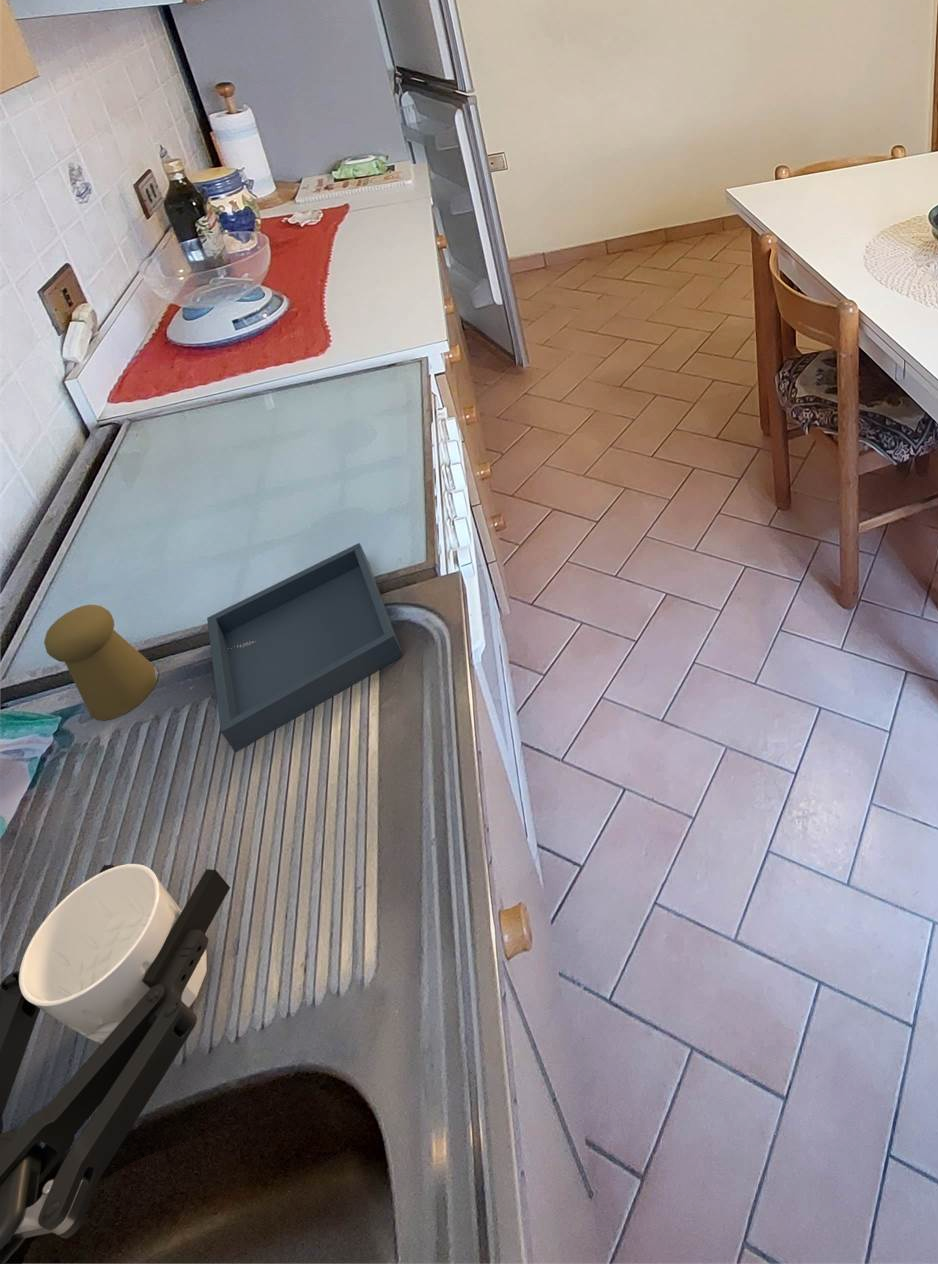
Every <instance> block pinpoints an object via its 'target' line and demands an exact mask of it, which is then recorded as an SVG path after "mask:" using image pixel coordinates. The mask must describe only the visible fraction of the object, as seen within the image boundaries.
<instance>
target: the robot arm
mask: <svg viewBox="0 0 938 1264" xmlns="http://www.w3.org/2000/svg"><path fill="white" fill-rule="evenodd" d="M113 867H116V866H115V865H114V864H104V865H103V866H102V868H101V869H100V870H99V872H98V873H97V875H98V874H99V873H101V872H104V871H106V870H108V869H111V868H113ZM230 890H231V886H230V885H229V884H228V883H227V882H226V880H225V879H224V878H223V877H222V875H221V874H220V873H219V872H218V871H217V870H216V869H207V868H206V869H205V870H204V872H203V874H202V876H201V877H200V879H199V881H198V883H197V884H196V887H195V888H194V889H193V892H192V893H191V894H190V897H189V899H188V900H187V902H186V904H185V905H184V907H183V909H182V912H181V914H180V916H179V917H178V919H177V921H176V923H175V924H174V926H173V928H172V930H171V931H170V933H169V935H168V936H167V938H166V940H165V942H164V944H163V946H162V948H161V950H160V952H159V953H158V955H157V957H156V958H155V960H154V961H153V963H152V964H151V966H150V968H149V969H148V971H147V973H146V975H145V976H144V978H143V980H142V981H143V982H144V983H145V984H146V985H147V986H148V987H149V988H150V990H149V991H148V992H147V993H146V994H145V995H144V996H143V997H142V999H141V1000H140V1001H139V1002H138V1003H137V1004H136V1005H135V1006H134V1008H133V1009H132V1010H131V1011H130V1012H129V1013H128V1014H127V1016H126V1017H125V1018H124V1019H123V1020H122V1021H121V1022H120V1024H119V1025H118V1026H117V1027H116V1028H115V1029H114V1030H113V1032H112V1033H111V1034H110V1035H109V1036H108V1037H107V1038H106V1040H105V1041H104V1042H103V1043H102V1044H99V1046H98V1047H97V1048H96V1050H94V1052H93V1053H92V1054H91V1055H90V1057H88V1059H86V1060H85V1062H84V1064H83V1065H81V1067H80V1068H79V1069H78V1070H77V1071H76V1072H75V1073H74V1075H73V1076H72V1077H71V1078H70V1080H68V1082H66V1083H65V1085H64V1086H63V1087H62V1088H61V1090H60V1091H59V1092H58V1093H57V1094H56V1095H55V1096H54V1097H53V1099H52V1100H51V1101H50V1102H49V1103H48V1104H47V1105H46V1106H45V1107H44V1108H43V1109H41V1110H38V1111H36V1112H35V1113H33V1114H32V1115H31V1116H30V1117H29V1118H28V1119H27V1120H26V1121H25V1122H24V1124H23V1125H22V1126H21V1127H20V1128H19V1130H15V1129H12V1130H8V1131H4V1132H3V1129H4V1122H3V1117H4V1116H3V1115H4V1112H5V1110H6V1107H7V1104H8V1101H9V1099H10V1095H11V1093H12V1091H13V1087H14V1084H15V1081H16V1079H17V1077H18V1073H19V1070H20V1067H21V1064H22V1062H23V1059H24V1056H25V1054H26V1051H27V1048H28V1045H29V1042H30V1039H31V1036H32V1034H33V1032H34V1028H35V1026H36V1022H37V1020H38V1017H39V1014H40V1011H41V1009H40V1008H38V1007H37V1006H35V1005H33V1004H32V1003H30V1002H29V1001H27V1000H26V999H25V997H24V996H23V995H22V993H21V990H20V986H19V972H20V971H18V970H16V971H12V972H11V973H9V974H8V975H7V976H5V977H4V979H3V980H2V981H1V983H0V1264H6V1263H7V1261H8V1260H9V1259H10V1258H11V1256H12V1255H14V1254H15V1252H17V1250H18V1249H19V1248H20V1247H21V1245H22V1244H23V1243H24V1242H25V1240H26V1239H27V1238H32V1237H37V1236H42V1235H47V1234H52V1233H53V1234H54V1235H56V1236H58V1237H60V1238H62V1239H68V1238H70V1237H73V1236H74V1234H75V1233H76V1232H78V1230H79V1229H80V1227H81V1226H82V1224H83V1223H84V1220H85V1218H86V1215H87V1212H88V1210H89V1207H90V1205H91V1202H92V1200H93V1198H94V1196H95V1193H96V1190H97V1187H98V1185H99V1182H100V1181H101V1178H102V1177H103V1175H104V1173H105V1171H106V1169H107V1168H108V1167H109V1165H110V1164H111V1162H112V1160H113V1158H114V1157H115V1155H116V1153H118V1150H119V1149H120V1147H121V1146H122V1144H123V1142H124V1141H125V1139H126V1138H127V1136H128V1134H129V1133H130V1132H131V1129H132V1128H133V1126H134V1125H135V1123H136V1121H137V1120H138V1118H139V1117H140V1115H141V1113H142V1112H143V1110H144V1108H145V1107H146V1105H147V1104H148V1102H149V1101H150V1099H151V1097H152V1096H153V1094H154V1092H155V1091H156V1089H157V1088H158V1086H159V1084H160V1083H161V1081H162V1080H163V1078H164V1077H165V1075H166V1074H167V1072H168V1071H169V1068H170V1067H171V1065H172V1064H173V1062H174V1061H175V1059H176V1058H177V1056H178V1054H179V1053H180V1052H181V1050H182V1048H183V1046H184V1044H185V1043H186V1041H187V1039H188V1038H189V1036H190V1035H191V1033H192V1031H193V1030H194V1028H195V1027H196V1025H197V1023H198V1022H197V1021H198V1016H197V1014H196V1013H195V1012H194V1011H193V1010H192V1009H191V1008H190V1007H188V1006H186V1005H185V1004H184V1003H183V1002H182V1000H181V999H182V993H183V991H184V989H185V987H186V985H187V983H188V981H189V980H190V978H191V976H192V974H193V972H194V970H195V968H196V967H197V964H198V963H199V961H200V959H201V957H202V955H203V953H204V952H205V950H206V951H207V948H208V943H209V937H208V936H207V935H206V934H207V931H208V929H209V927H210V926H211V924H212V922H213V920H214V919H215V916H216V914H217V913H218V911H219V910H220V907H221V905H223V902H224V901H225V898H226V896H227V894H228V893H229V891H230ZM90 1117H91V1118H90ZM89 1118H90V1119H89ZM87 1120H88V1122H87ZM86 1122H87V1123H86ZM85 1123H86V1125H85ZM83 1125H85V1127H84V1128H83V1130H82V1131H81V1133H80V1134H79V1136H78V1137H77V1138H76V1140H75V1136H76V1134H77V1133H78V1131H80V1129H81V1128H82V1127H83ZM74 1141H75V1142H74ZM41 1143H44V1146H43V1147H42V1145H41ZM67 1152H68V1153H67ZM65 1155H66V1157H65V1158H64V1160H63V1162H62V1163H61V1165H60V1167H59V1169H58V1171H57V1174H56V1175H55V1177H54V1178H51V1179H49V1180H47V1182H45V1184H44V1185H43V1187H42V1189H41V1196H40V1197H39V1198H38V1196H39V1187H40V1185H41V1184H42V1182H43V1181H44V1180H45V1179H46V1177H47V1176H48V1175H49V1174H50V1172H51V1171H52V1170H53V1169H54V1168H55V1166H56V1165H57V1164H58V1163H59V1162H60V1160H61V1159H62V1158H63V1157H64V1156H65Z"/></svg>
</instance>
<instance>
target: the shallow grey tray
mask: <svg viewBox="0 0 938 1264" xmlns="http://www.w3.org/2000/svg"><path fill="white" fill-rule="evenodd" d="M381 594H382V593H381V591H380V588H379V585H378V583H377V581H376V579H375V575H374V572H373V570H372V567H371V564H370V562H369V559H368V557H367V555H366V553H365V551H364V549H363V547H362V545H361V543H360V542H358V543H356V544H354V545H352V546H350V547H348V548H346V549H343V550H342V551H340V552H337V553H336V554H334V555H332V556H329V557H327V558H325V559H324V560H322V561H320V562H318V563H315V564H313V565H312V566H309V567H307V568H305V569H303V570H301V571H299V572H297V573H295V574H293V575H291V576H289V577H287V578H285V579H283V580H280V581H279V582H277V583H275V584H273V585H271V586H269V587H267V588H265V589H262V590H260V591H259V592H257V593H255V594H253V595H251V596H248V597H246V598H245V599H242V600H240V601H237V602H235V604H232V605H230V606H228V607H226V608H224V609H222V610H221V611H218V612H215V613H214V614H212V615H210V616H208V617H207V619H206V621H207V629H208V637H209V638H208V639H209V645H210V653H211V654H210V655H211V661H212V671H213V677H214V686H215V695H216V704H217V711H218V720H219V727H220V733H221V734H222V735H223V737H224V738H225V740H226V741H227V743H228V744H229V746H230V747H231V748H232V750H233V752H234V753H236V752H238V751H240V750H242V749H244V748H246V747H247V746H248V744H249V745H251V744H253V743H254V742H256V741H257V740H259V739H261V738H263V737H264V736H266V735H269V734H270V733H272V732H273V731H275V730H277V729H279V728H280V727H282V726H284V725H285V724H288V723H289V722H290V721H293V720H294V719H296V718H298V717H300V716H301V715H303V714H305V713H307V712H308V711H310V710H311V709H312V710H313V708H315V707H317V706H318V705H320V704H322V703H324V702H325V701H328V700H329V699H331V698H332V697H335V696H336V695H338V694H340V693H342V692H343V691H345V690H347V689H349V688H350V687H353V685H355V684H357V683H359V682H361V681H362V680H364V679H366V678H367V677H370V676H371V675H373V674H374V673H376V672H378V671H380V670H381V669H384V668H385V667H387V666H389V665H390V664H392V663H394V662H395V661H397V660H399V659H401V658H402V657H404V653H403V650H402V647H401V645H400V643H399V640H398V637H397V634H396V631H395V629H394V626H393V624H392V621H391V618H390V616H389V613H388V610H387V608H385V607H386V605H385V603H384V602H385V601H384V599H383V597H382V595H381ZM249 641H251V642H252V641H254V644H253V645H252V643H251V645H250V646H249V645H248V646H247V648H246V646H245V648H243V647H241V648H240V647H239V646H240V644H241V645H242V646H243V643H246V642H248V643H249ZM255 641H256V644H255ZM237 645H239V646H238V648H237ZM234 646H235V647H234ZM228 648H229V649H228ZM231 648H232V649H231ZM241 748H242V749H241ZM239 749H240V750H239ZM237 750H238V751H237Z"/></svg>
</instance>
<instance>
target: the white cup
mask: <svg viewBox="0 0 938 1264" xmlns="http://www.w3.org/2000/svg"><path fill="white" fill-rule="evenodd" d="M98 873H99V872H98ZM98 873H97V874H95V875H93V876H92V877H91V878H89V879H87V880H86V881H84V882H83V883H81V884H80V885H79V886H78V887H76V888H75V889H74V890H72V891H71V892H70V893H69V894H68V895H67V896H66V897H64V898H63V899H62V900H61V901H60V902H59V903H58V904H57V905H56V906H55V907H54V909H53V910H52V911H51V912H50V913H49V914H48V915H47V916H46V918H45V919H44V920H43V922H42V923H41V924H40V926H39V927H38V929H37V930H36V931H35V933H34V935H33V936H32V938H31V940H30V942H29V943H28V945H27V948H26V950H25V952H24V954H23V957H22V960H21V963H20V968H19V971H18V972H19V986H20V990H21V993H22V995H23V996H24V997H25V999H26V1000H27V1001H29V1002H30V1003H32V1004H33V1005H35V1006H37V1007H38V1008H40V1011H41V1010H42V1011H43V1012H45V1013H46V1014H47V1015H48V1016H50V1017H52V1018H53V1019H55V1020H57V1021H59V1023H61V1024H63V1025H64V1026H66V1027H67V1028H69V1029H70V1030H73V1031H74V1032H76V1033H78V1034H80V1035H81V1036H82V1037H85V1038H87V1039H89V1040H91V1041H94V1042H96V1043H98V1044H99V1045H101V1044H102V1043H103V1042H104V1041H105V1040H106V1038H107V1037H108V1036H109V1035H110V1034H111V1033H112V1032H113V1030H114V1029H115V1028H116V1027H117V1026H118V1025H119V1024H120V1022H121V1021H122V1020H123V1019H124V1018H125V1017H126V1016H127V1014H128V1013H129V1012H130V1011H131V1010H132V1009H133V1008H134V1006H135V1005H136V1004H137V1003H138V1002H139V1001H140V1000H141V999H142V997H143V996H144V995H145V994H146V993H147V992H148V991H149V990H150V988H149V987H148V986H147V985H146V984H145V983H144V982H143V981H142V980H143V978H144V976H145V975H146V973H147V971H148V969H149V968H150V966H151V964H152V963H153V961H154V960H155V958H156V957H157V955H158V953H159V952H160V950H161V948H162V946H163V944H164V942H165V940H166V938H167V936H168V935H169V933H170V931H171V930H172V928H173V926H174V924H175V923H176V921H177V919H178V917H179V916H180V914H181V912H182V911H183V909H181V908H180V906H179V905H178V904H177V902H176V901H175V899H174V898H173V896H172V895H171V894H170V893H169V891H168V890H167V888H166V887H165V886H164V885H163V883H162V881H161V880H160V879H159V877H158V876H157V875H156V874H155V872H154V871H153V870H152V869H151V868H150V867H148V866H146V865H143V864H139V863H127V864H126V863H125V864H121V865H117V866H115V867H113V868H111V869H108V870H106V871H104V872H101V873H99V874H98ZM207 961H208V960H207V949H206V950H205V952H204V953H203V955H202V957H201V959H200V961H199V963H198V964H197V967H196V968H195V970H194V972H193V974H192V976H191V978H190V980H189V981H188V983H187V985H186V987H185V989H184V991H183V993H182V999H181V1000H182V1002H183V1003H184V1004H185V1005H186V1006H188V1007H189V1008H190V1007H191V1006H192V1005H193V1003H194V1001H195V1000H196V999H197V997H198V996H199V992H200V990H201V987H202V984H203V982H204V979H205V977H206V974H207V971H208V970H207V969H208V967H207V966H208V965H207V964H208V963H207Z"/></svg>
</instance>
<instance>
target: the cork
mask: <svg viewBox="0 0 938 1264" xmlns="http://www.w3.org/2000/svg"><path fill="white" fill-rule="evenodd" d="M114 628H115V621H114V618H113V615H112V614H111V612H110V610H108V609H107V608H105V607H104V606H102V605H97V604H86V605H81V606H78V607H76V608H73V609H71V610H70V611H68V612H66V613H63V615H62V616H60V617H58V619H56V620H55V621H54V622H53V623H52V625H50V626H49V628H48V630H47V631H46V634H45V637H44V640H43V641H44V642H43V644H44V647H45V648H44V649H45V651H46V653H47V655H48V656H50V658H52V659H53V660H56V661H58V662H59V663H61V662H62V663H65V665H66V667H67V670H68V672H69V674H70V676H71V679H72V680H73V682H74V685H75V686H76V689H77V690H78V692H79V695H80V697H81V699H82V701H83V703H84V705H85V707H86V709H87V711H88V714H89V715H90V717H91V718H93V719H94V720H96V721H108V720H113V719H116V718H119V717H121V716H123V715H126V714H127V713H129V712H130V711H132V710H133V709H135V708H137V707H138V706H139V705H140V704H141V703H143V702H144V701H145V700H146V699H147V698H148V696H149V695H150V694H151V693H152V692H153V690H154V689H155V687H156V685H157V683H158V681H157V680H156V677H155V669H154V666H155V665H154V664H153V663H152V662H151V661H150V660H148V659H147V658H146V657H145V656H144V655H143V654H142V653H140V651H138V650H137V649H136V648H135V647H134V646H133V645H132V644H131V643H129V641H127V639H125V638H124V637H122V635H120V634H119V633H118V632H117V631H116V630H115V629H114ZM153 665H154V666H153Z"/></svg>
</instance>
